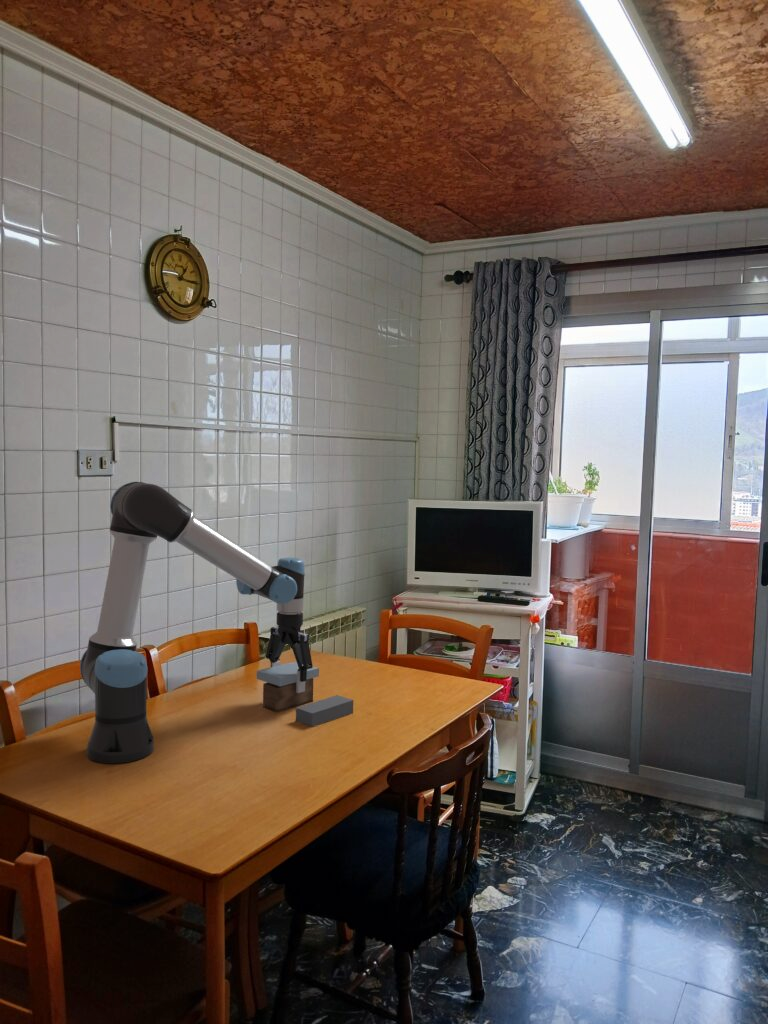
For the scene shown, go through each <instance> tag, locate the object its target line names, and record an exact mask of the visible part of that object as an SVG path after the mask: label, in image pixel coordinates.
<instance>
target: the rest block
mask: <svg viewBox="0 0 768 1024" xmlns="http://www.w3.org/2000/svg"><path fill="white" fill-rule="evenodd" d="M353 713H354V699H351V698H347V697H345V696H341V695H339V694H336V695H333V696H330V697H326V698H324V699H321V700H317V701H313V702H310V703H307V704H303V705H300V706H297V707H295V722H297V723H300V724H303V725H305V726H309V727H311V728H314V727H317V726H319V725H322V724H326V723H328V722H332V721H334V720H336V719H339V718H343V717H345V716H348V715H351V714H353Z"/></svg>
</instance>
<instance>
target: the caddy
mask: <svg viewBox="0 0 768 1024" xmlns="http://www.w3.org/2000/svg"><path fill="white" fill-rule="evenodd" d="M262 695H263V696H262V708H263V709H266V710H268V711H271V712H275V713H280V712H284V711H286V710H287V711H288V710H290V709H293V708H297V707H300V706H304V705H307V704H310V703H313V702H314V678H311V679H307V680H306V681H305V691H304V692H301V693H296V682H295V683H292V684H288V685H284V686H277V685H274V684H271V683H268V682H265V683H264V682H263V685H262Z"/></svg>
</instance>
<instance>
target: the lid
mask: <svg viewBox="0 0 768 1024" xmlns="http://www.w3.org/2000/svg"><path fill="white" fill-rule="evenodd" d="M302 666H303V664H302ZM298 669H299V667H298V664H297V661H292V662H289V663H288V662H287V663H283V664H280V665H279V666H275V667H271V666H270V667H267V668H262V669H258V670H256V680H259V681H262V682H265V683H271V684H274V685H277V686H284V685H288V684H292V683H295V682H297V670H298ZM319 677H320V668H319V667H316V666H313V667H312V668H310V669H307V679H311V678H313V679H314V678H319ZM307 679H306V680H307Z"/></svg>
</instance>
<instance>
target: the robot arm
mask: <svg viewBox="0 0 768 1024" xmlns="http://www.w3.org/2000/svg"><path fill="white" fill-rule="evenodd" d="M109 507H110V512H111V514H112V517H111V521H110V526H109V527H110V528H109V532H110V534H111V535H112V537H113V538H114V539H113V545H112V550H111V557H110V559H109V560H110V563H109V567H108V571H107V577H106V581H105V588H104V593H103V598H102V603H101V609H100V614H99V620H98V625H97V630H96V632H95V633H93V634H92V635H90V636H89V638H88V644H87V647H86V650H85V652H84V653H83V654H82V656H81V659H80V663H79V671H80V675H81V678H82V680H83V682H84V684H85V685H86V686H87V687H88V688H89V689H90V690H91V691H92V693H93V694H94V698H95V699H94V713H95V715H94V716H95V717H94V725H93V728H92V730H91V733H90V736H89V739H88V742H87V744H86V745H87V746H86V751H87V752H86V756H87V758H88V759H89V760H91V761H93V762H97V763H101V764H125V763H129V762H134V761H138V760H141V759H144V758H146V757H148V756H149V755H150V754H152V753H153V751H154V749H155V739H154V736H153V733H152V729H151V728H150V727H151V726H150V724H149V721H148V718H147V716H148V715H147V714H148V713H147V711H148V710H147V708H148V707H147V704H148V703H147V697H148V695H147V694H148V692H147V691H148V690H147V689H148V687H147V686H148V672H149V671H148V665H147V664H148V662H147V658H146V657H145V655H144V654H143V653H141V652H139V651H136V650H137V645H138V642H137V641H136V639H135V638H134V637H133V635H134V628H135V623H136V618H137V612H138V607H139V602H140V596H141V591H142V585H143V582H144V581H143V580H144V576H145V569H146V564H147V558H148V554H149V549H150V544H151V543H153V542H154V541H156V540H157V538H158V537H160V538H161V539H163V540H165V541H166V542H168V543H178V544H180V545H181V546H182V547H185V548H186V550H187V549H188V550H189V551H191V552H193V553H194V554H196V555H198V556H199V557H201V558H202V559H203V560H205V561H207V562H209V563H210V564H212V565H214V566H215V567H217V568H218V569H221V570H222V571H223V572H225V573H227V574H228V575H229V576H231V577H233V578H234V579H236V582H235V583H236V589H237V590H238V592H239V594H240V595H249V596H251V595H258V596H260V597H262V598H265V599H267V600H269V601H272V602H274V603H276V610H277V613H276V626H271V627H270V636H269V640H268V645H267V649H266V652H265V658H266V659H268V660H269V662H270V667H275V666H279V665H281V661H280V660H281V659H280V657H281V656H282V654H283V651H284V648H285V647H286V645H287V646H289V647H290V649H292V652H293V654H294V655H293V656H294V658H295V660H296V661H295V662H297V664H298V667H299V669H298V670H297V682H296V693H301V692H304V691H305V681H306V679H307V669H310V668H312V667H314V666H313V660H312V656H311V655H312V654H311V648H310V641H309V640H310V635H309V633H308V632H307V633H303V632H302V629H301V627H302V626H303V625H304V613H303V611H304V591H305V589H304V588H305V587H304V586H305V576H306V574H305V573H306V572H305V562H304V559H302V558H298V557H281V558H279V559H278V561H277V565H274V566H271V564H269V563H267V562H265V561H264V560H263V559H261V558H260V557H257V556H256V555H255V554H253V553H252V552H250V551H248V550H247V549H245V548H243V547H242V546H241V545H239V544H237V543H236V542H235V541H233V540H231V539H230V538H229V537H227V536H226V535H224V534H222V533H221V532H219V531H218V530H216V529H215V528H213V527H212V526H210V525H209V524H207V523H205V522H204V521H202V520H201V519H199V518H198V517H196V516H194V512H193V510H192V508H190V507H188V505H187V506H186V505H185V504H184V503H183V502H181V501H180V500H179V499H178V498H177V497H175V496H173V495H172V494H171V493H170V492H169V491H167V490H166V489H165V488H163V487H161V486H159V485H157V484H154V483H146V482H143V481H131V482H127V483H125V484H123V485H121V486H119V487H118V489H116V490H115V491H114V492H113V494H112V497H111V499H110V505H109ZM302 664H303V666H302Z"/></svg>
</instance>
